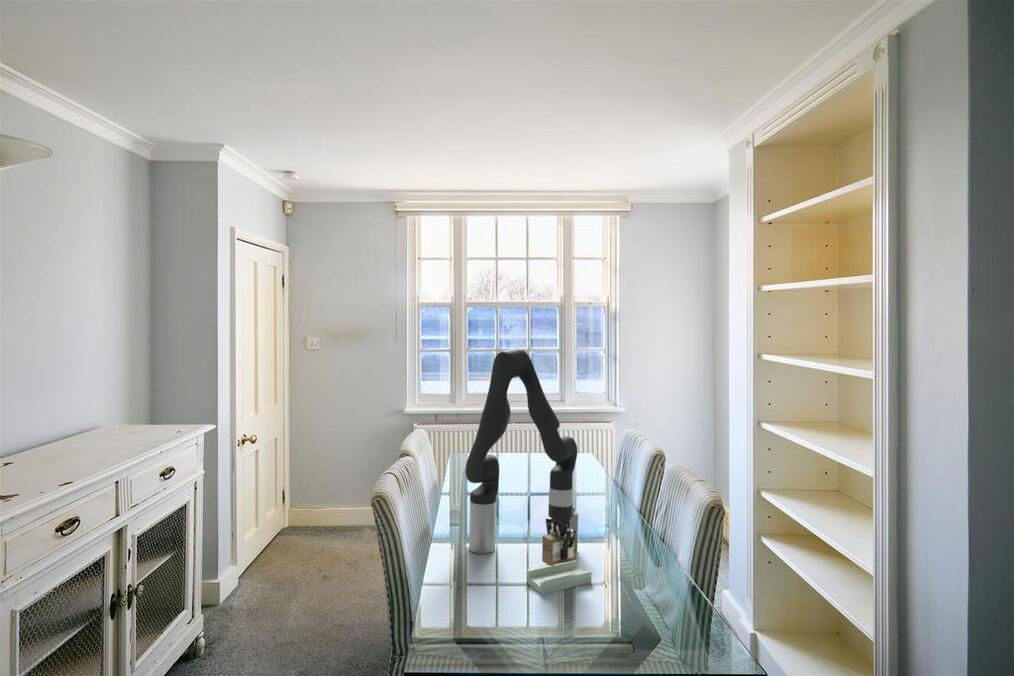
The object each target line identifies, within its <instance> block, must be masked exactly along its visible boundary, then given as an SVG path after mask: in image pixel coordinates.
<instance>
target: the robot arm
mask: <svg viewBox="0 0 1014 676" xmlns="http://www.w3.org/2000/svg"><path fill="white" fill-rule="evenodd" d="M514 378H519V379H520V381H521V382H522V384H523V385H524V388H525V391H526V398H527V399H526V400H527V408H528V413H529V416H530V418H531V420H532V421H533V423H534V425H535V427H536V429H537V430H538V432H539V435H540V439H541V442H542V445H543V446H542V447H543V449H544V452H545V454H546V455H547V457H548V458H549V459H550V460H551V461H552V462H554V463H555V465H554V466H553V468H552V469H551V470H550V473H549V491H548V518H545V525H546V533H547V534H546V535H548V534H558V538H559V540H560V545H561V550H560V559H561V560H566V559H567V558H568V548H570V547H573V543H574V539H575V534H576V531H575V530H572V529H571V528H570V522H569V521H570V519H571V518H572V517H573V507H574V491H573V487H574V486H573V485H574V484H573V483H574V482H573V481H574V480H573V477H574V476H573V475H574V470H575V466H576V462H577V458H578V457H577V456H578V444H577V443H576V440H575V439H574V438H573V437H571V436H568V435H564V436H560V433H559V431H558V429H560V426H561V423H560V420H559V418H558V417H557V415H556V413H555V411H554V409H553V408H552V406H551V405H550V403H549V401H548V399H547V397H546V395H545V392H544V390H543V387H542V385H541V382H540V379H539V377H538V375H537V372H536V370H535V366H534V364H533V362H532V358H531V357H530V355H529V353H528V352H527V351H526V350H525V349H523V348H520V347H517V348H510V349H505V350H502V351H500V352H498V353H497V354H496V356H495V357H494V359H493V363H492V369H491V376H490V381H489V382H490V383H489V387H488V391H487V394H486V395H487V396H486V399H485V404H484V407H483V410H482V414H481V417H480V421H479V424H478V429H477V432H476V437H475V440H474V441H473V444H472V447H471V450H470V452H469V455H468V458H467V459H466V463H465V477H466V480H468V482H470V483H471V484H480V483H481V484H480V485H478V487H475V489H473V490H472V491H471V492H470V495H469V522H468V523H469V527H468V528H469V533H468V547H469V548H468V549H469V551H470V552H472V553H475V554H479V555H481V554H482V555H486V554H491V553H493V552H495V550H496V538H497V537H496V532H497V531H496V530H497V529H496V528H497V526H496V525H497V522H496V521H497V496H498V494H499V484H500V483H499V481H500V480H499V479H500V463H499V461H498V458H497V456H496V455H494V454H491V453H490V454H489V451H490V450H491V449H492V447H494V446H495V444H496V443H498V441H499V440H500V439H501V438H502V436H503V435H504V434H505V432H506V431H507V428H508V425H509V422H510V418H511V406H510V402H509V400H508V390H509V387H510V385H511V384H510V383H511V382H512V379H514ZM565 535H566V537H562V536H565ZM564 540H565V543H564V542H563V541H564ZM569 542H570V543H569Z"/></svg>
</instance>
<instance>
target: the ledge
mask: <svg viewBox="0 0 1014 676" xmlns="http://www.w3.org/2000/svg"><path fill="white" fill-rule="evenodd" d="M592 575H593V574H592V571H591V570H586V571H584V570H583V569H581V568H580V567H578V560H577V559H576V560H575V561H570V562H565V563H560V564H556V565H551V566H549V565H547V564H546V565H543V566H537V567H533V568H528V569H527V570H526V583H527V584H528V585H529V586H530V587H532V588H533V589H534V590H535V591H537V592H538V593H539V594H540V595H545V594H549V593H550V592H551V593H555V592H558V590H559V591H563V590H567V589H571V588H570V587H572V588H575V587H574V586H576V587H579V585H580V586H584V585H588V584H592ZM587 583H588V584H587ZM583 584H584V585H583ZM566 588H567V589H566ZM562 589H563V590H562ZM554 591H555V592H554Z"/></svg>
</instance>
